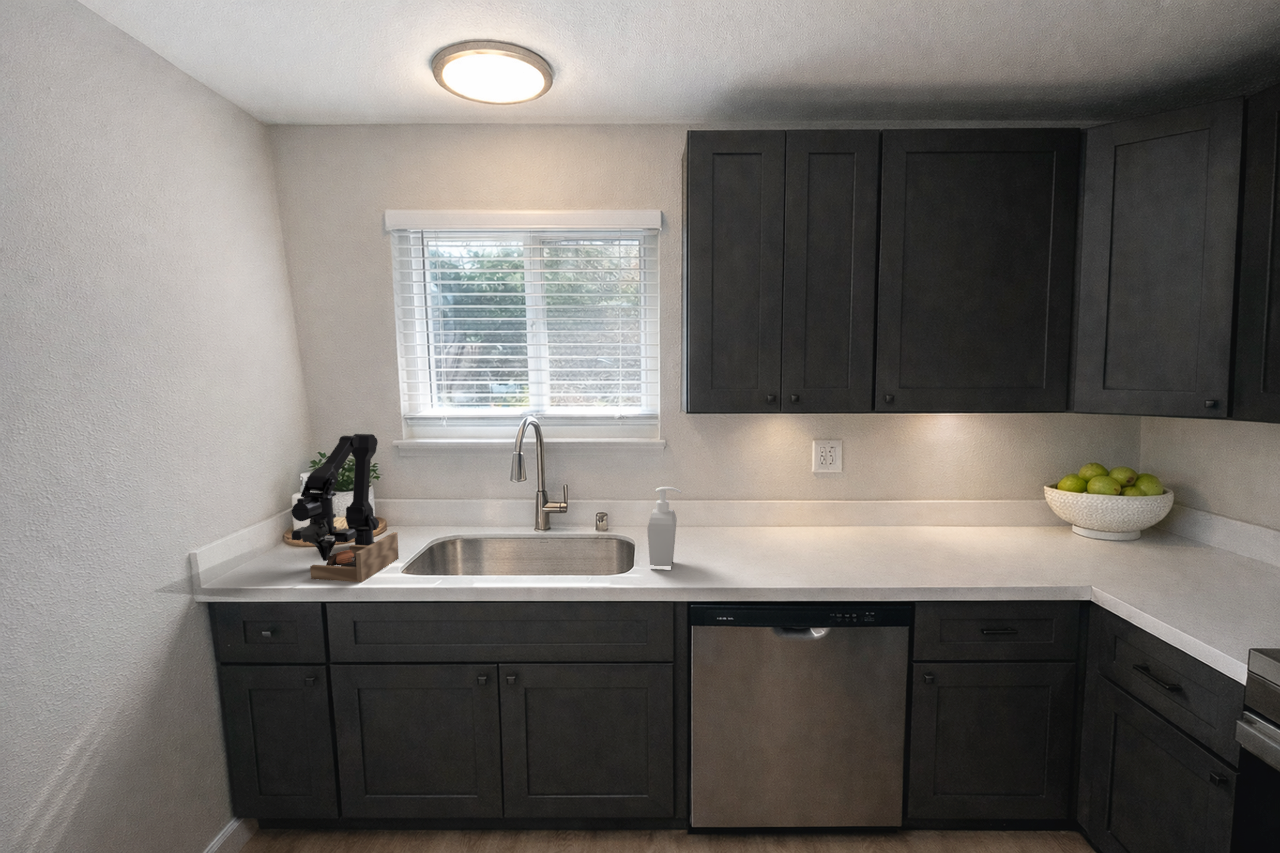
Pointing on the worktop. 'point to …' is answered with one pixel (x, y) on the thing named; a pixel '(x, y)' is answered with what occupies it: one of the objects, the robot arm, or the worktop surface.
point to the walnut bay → (361, 561)
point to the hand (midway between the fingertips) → (325, 560)
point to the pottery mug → (342, 559)
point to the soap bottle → (662, 531)
